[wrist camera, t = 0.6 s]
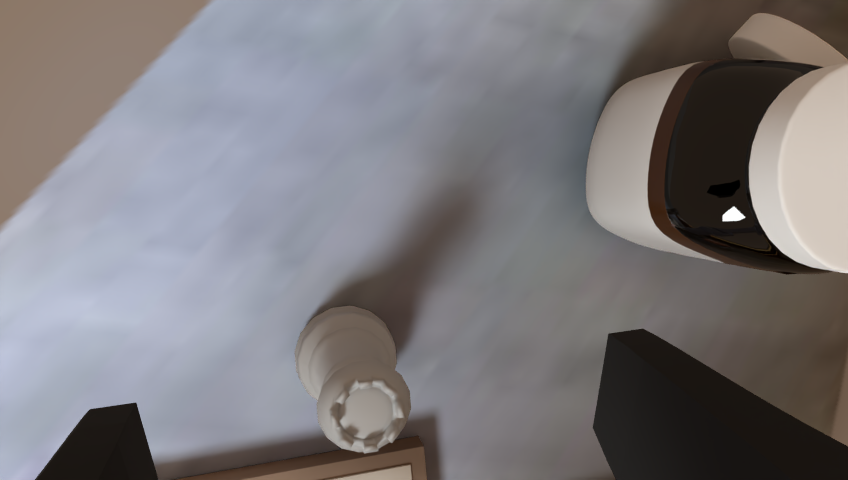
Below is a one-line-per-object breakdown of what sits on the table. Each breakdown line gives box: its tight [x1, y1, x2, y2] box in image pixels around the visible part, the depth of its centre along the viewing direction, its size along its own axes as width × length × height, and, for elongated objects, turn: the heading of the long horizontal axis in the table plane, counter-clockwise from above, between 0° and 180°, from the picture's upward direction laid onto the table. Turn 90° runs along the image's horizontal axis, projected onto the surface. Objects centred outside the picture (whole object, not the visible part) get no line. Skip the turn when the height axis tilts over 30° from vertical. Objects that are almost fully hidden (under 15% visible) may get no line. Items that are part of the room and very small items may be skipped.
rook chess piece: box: [295, 306, 411, 453], centre depth 25 cm, size 4×4×8 cm
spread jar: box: [586, 13, 848, 274], centre depth 26 cm, size 12×11×12 cm
